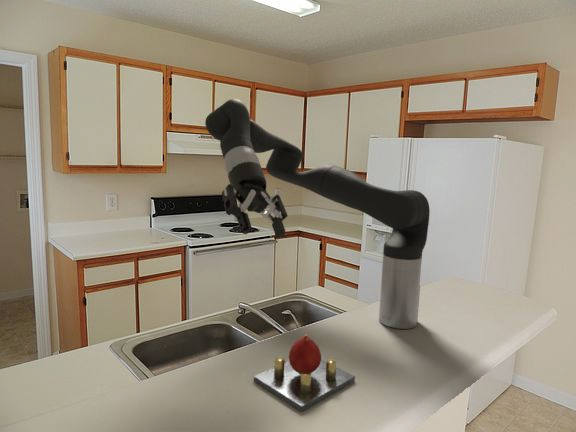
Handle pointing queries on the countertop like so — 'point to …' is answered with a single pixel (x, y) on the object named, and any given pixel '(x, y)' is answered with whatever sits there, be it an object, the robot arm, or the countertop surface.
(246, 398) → the countertop surface
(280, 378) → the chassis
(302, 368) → the onion
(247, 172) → the robot arm
